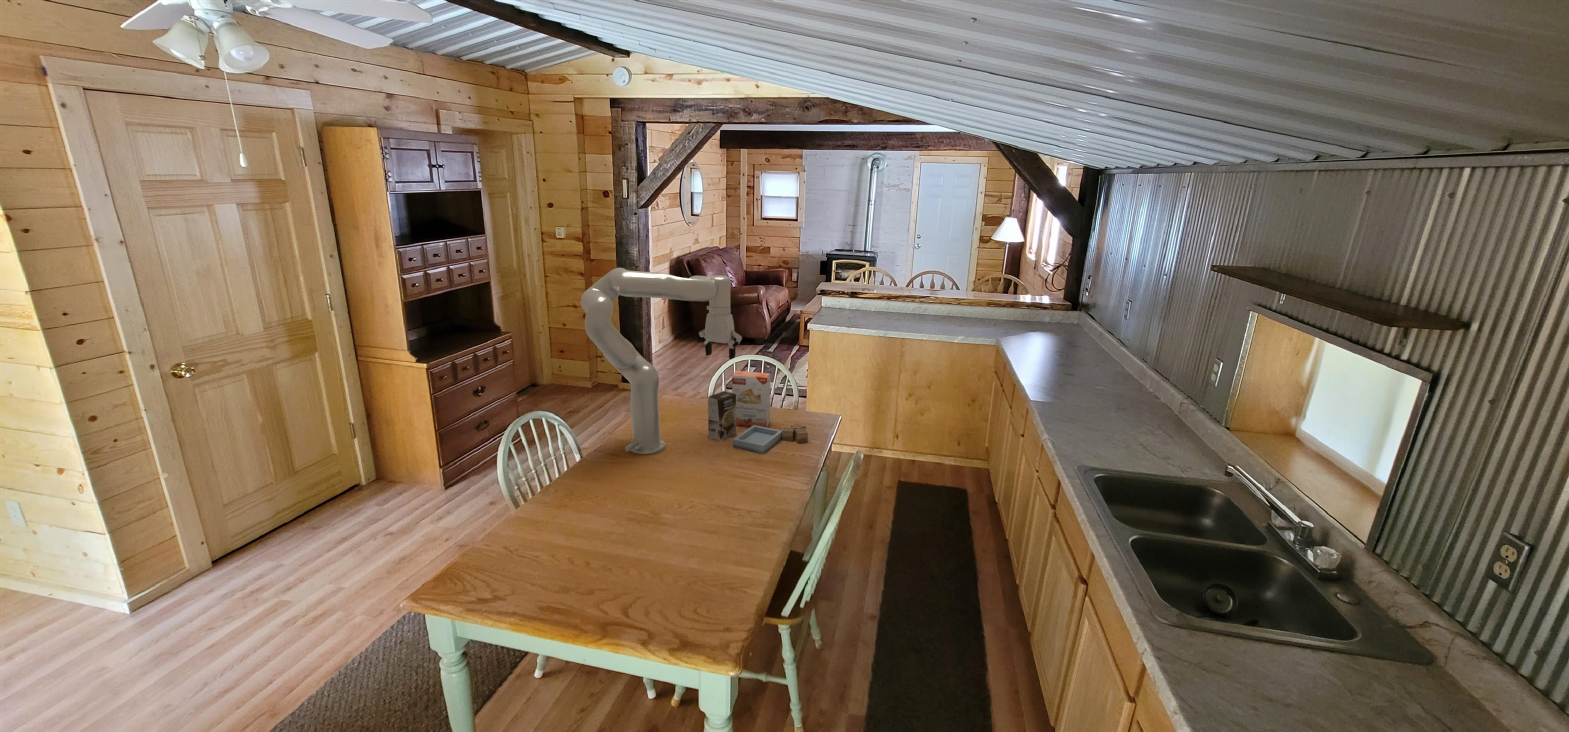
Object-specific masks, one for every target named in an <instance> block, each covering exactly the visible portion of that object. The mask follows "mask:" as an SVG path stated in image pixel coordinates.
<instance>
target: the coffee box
mask: <svg viewBox="0 0 1569 732" xmlns="http://www.w3.org/2000/svg"><path fill="white" fill-rule="evenodd" d="M707 417H708V418H707V419H708V421H707V426H708V427H707V430H708V432H707V433H708V434H707V435H708V438H710V439H713V440H715V441H716V440H717V441H719V442H722V441H724V440H726V439H728V438H731V437H733V436H735V435H737V425H736V394H734V393H732V392H729V391H724V390H723V391H720V392H717V393H715V394H711V395H709V396H708V397H707Z"/></svg>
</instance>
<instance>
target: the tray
mask: <svg viewBox="0 0 1569 732" xmlns="http://www.w3.org/2000/svg"><path fill="white" fill-rule="evenodd" d="M781 441H783V440H782V430H779V429H776V428H775V429H774V428H771V427H770V428H769V427H767V428H766V427H761V426H756V425H753V426H749V428H747V429H746V430H744V431H743V432H742V433H739V435H737V436H736V437H734V438H733V439H732V447H733V448H736V449H741V450H745V451H750V452H754V453H759V454H763V455H764V454H765V453H766V452H768V451H769V450H770V449H771V448H773V447H774V446H775V445H777V444H778V443H779V442H781Z"/></svg>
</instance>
